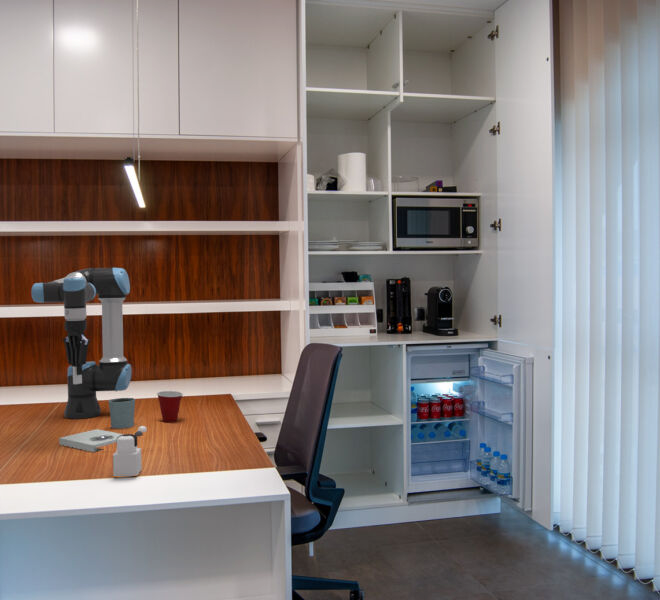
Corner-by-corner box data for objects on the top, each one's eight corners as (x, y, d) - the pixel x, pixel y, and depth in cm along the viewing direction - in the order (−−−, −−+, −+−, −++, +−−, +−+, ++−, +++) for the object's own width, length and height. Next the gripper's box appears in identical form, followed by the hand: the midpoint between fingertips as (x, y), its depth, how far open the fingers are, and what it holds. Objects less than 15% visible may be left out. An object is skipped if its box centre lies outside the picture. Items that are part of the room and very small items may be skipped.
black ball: (132, 439, 246) (132, 431, 246) (139, 437, 249) (139, 429, 249) (138, 440, 244) (137, 432, 244) (144, 438, 247) (144, 430, 247)
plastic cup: (177, 424, 271) (176, 395, 271) (152, 423, 273) (152, 394, 273) (188, 418, 282) (187, 390, 281) (164, 417, 284) (163, 390, 284)
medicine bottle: (118, 471, 206) (117, 433, 205) (141, 470, 206) (141, 432, 206) (112, 478, 198) (112, 438, 198) (137, 477, 199) (136, 437, 199)
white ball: (135, 435, 253) (135, 426, 252) (143, 433, 255) (142, 424, 255) (141, 436, 251) (141, 427, 250) (149, 434, 253) (148, 425, 253)
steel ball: (95, 445, 238) (95, 436, 237) (103, 442, 241) (103, 433, 240) (101, 447, 236) (101, 438, 235) (109, 444, 239) (109, 435, 238)
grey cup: (114, 433, 255) (113, 403, 255) (105, 429, 263) (104, 399, 263) (139, 430, 261) (139, 399, 261) (130, 425, 270) (129, 396, 269)
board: (59, 444, 240) (59, 437, 240) (97, 435, 253) (97, 429, 253) (93, 452, 228) (93, 445, 228) (131, 442, 241) (131, 435, 241)
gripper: (55, 319, 242) (57, 383, 244) (77, 321, 235) (79, 386, 236) (73, 318, 249) (75, 380, 250) (95, 319, 241) (97, 383, 243)
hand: (77, 383), depth 243 cm, fingers closed
